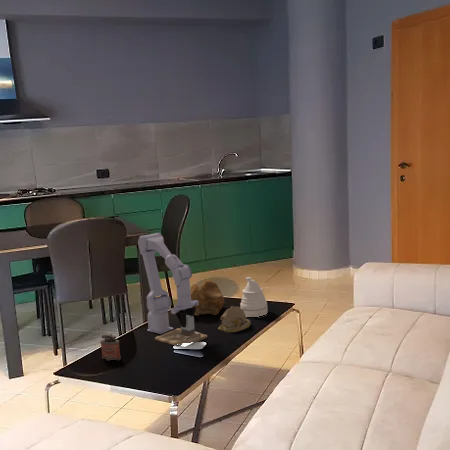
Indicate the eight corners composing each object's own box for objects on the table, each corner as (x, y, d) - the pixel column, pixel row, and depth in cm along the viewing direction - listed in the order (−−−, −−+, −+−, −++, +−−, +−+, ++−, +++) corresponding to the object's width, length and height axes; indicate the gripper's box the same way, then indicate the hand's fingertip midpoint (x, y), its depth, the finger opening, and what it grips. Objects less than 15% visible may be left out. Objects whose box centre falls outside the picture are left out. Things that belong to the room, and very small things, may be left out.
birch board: (155, 339, 240) (154, 333, 240) (178, 330, 251) (177, 323, 250) (184, 347, 228) (183, 340, 228) (207, 337, 239) (207, 330, 238)
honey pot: (248, 319, 259) (245, 282, 256) (236, 312, 270) (234, 276, 268) (272, 314, 264) (270, 277, 261) (260, 308, 275) (257, 272, 273)
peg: (189, 334, 233) (188, 318, 232) (181, 332, 236) (180, 316, 235) (194, 332, 235) (193, 316, 234) (186, 330, 239) (185, 314, 238)
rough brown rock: (213, 322, 261) (213, 291, 258) (182, 317, 268) (182, 286, 265) (234, 309, 281) (234, 280, 279) (204, 304, 288) (205, 276, 286)
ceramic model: (227, 334, 241) (225, 312, 240) (214, 328, 251) (212, 306, 249) (254, 327, 248) (252, 305, 247) (240, 321, 258) (239, 300, 256)
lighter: (122, 357, 222) (120, 333, 221) (118, 361, 219) (115, 336, 218) (104, 356, 225) (102, 332, 223) (100, 359, 222) (97, 335, 220)
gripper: (178, 300, 226) (180, 332, 228) (202, 291, 237) (205, 322, 239) (166, 298, 231) (169, 329, 233) (191, 289, 241) (193, 319, 243)
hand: (186, 325), depth 236 cm, fingers closed on peg, 3 cm apart
